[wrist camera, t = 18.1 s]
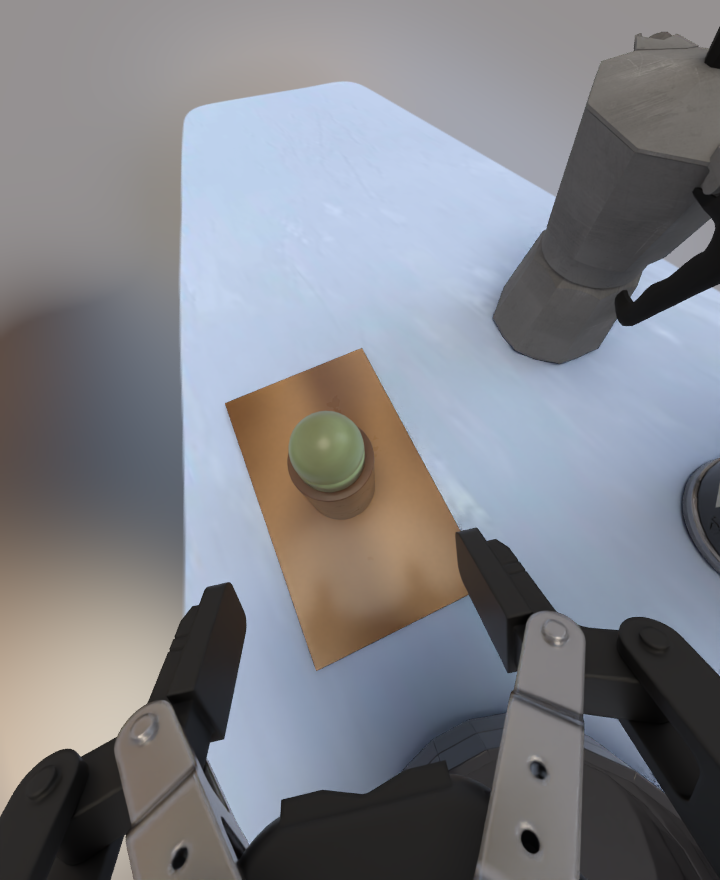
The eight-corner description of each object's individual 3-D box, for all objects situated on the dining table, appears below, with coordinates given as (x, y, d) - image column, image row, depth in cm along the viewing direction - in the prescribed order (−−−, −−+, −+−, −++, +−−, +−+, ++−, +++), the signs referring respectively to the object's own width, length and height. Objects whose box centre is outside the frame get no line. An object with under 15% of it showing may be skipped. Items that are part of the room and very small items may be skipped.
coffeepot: (482, 261, 33) (592, -69, 16) (587, 258, 32) (813, -84, 16) (505, 413, 27) (708, 156, 11) (632, 412, 27) (1055, 140, 10)
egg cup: (374, 453, 26) (372, 386, 17) (375, 519, 25) (374, 485, 15) (310, 454, 27) (273, 389, 17) (306, 519, 25) (263, 486, 16)
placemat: (362, 350, 30) (361, 347, 30) (487, 584, 23) (489, 584, 23) (226, 404, 29) (224, 403, 28) (316, 670, 22) (316, 671, 22)
